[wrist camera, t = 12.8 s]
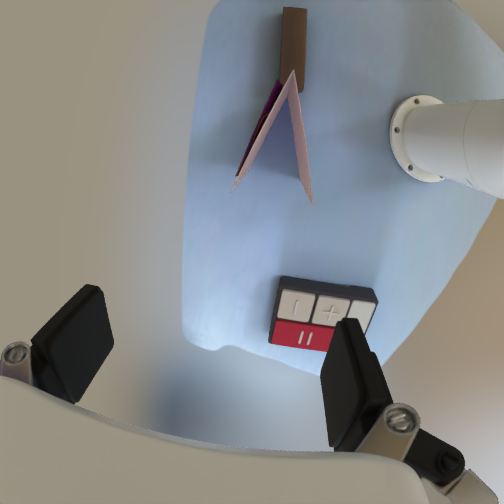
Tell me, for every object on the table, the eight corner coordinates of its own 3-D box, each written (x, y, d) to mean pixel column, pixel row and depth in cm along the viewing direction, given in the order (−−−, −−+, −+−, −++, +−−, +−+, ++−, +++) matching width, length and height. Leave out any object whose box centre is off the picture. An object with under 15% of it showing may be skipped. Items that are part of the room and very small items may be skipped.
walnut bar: (305, 15, 27) (307, 8, 25) (302, 92, 32) (303, 89, 30) (283, 13, 27) (283, 6, 25) (278, 90, 32) (278, 87, 30)
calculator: (279, 287, 39) (380, 303, 38) (281, 273, 43) (374, 288, 42) (267, 346, 43) (356, 358, 42) (269, 330, 47) (353, 342, 46)
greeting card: (281, 92, 32) (283, 64, 18) (332, 119, 33) (366, 109, 19) (242, 167, 37) (220, 188, 23) (292, 192, 37) (301, 227, 24)
